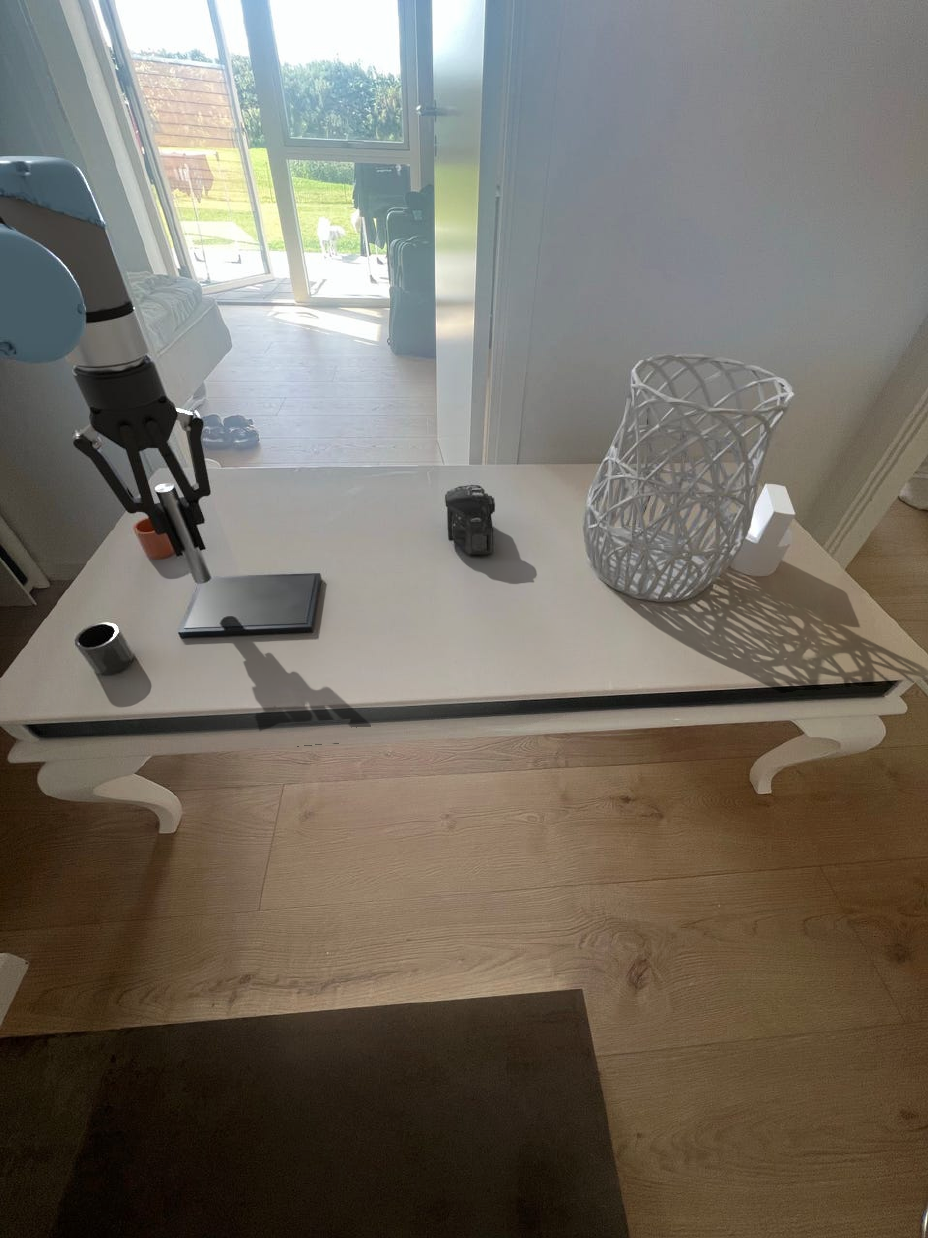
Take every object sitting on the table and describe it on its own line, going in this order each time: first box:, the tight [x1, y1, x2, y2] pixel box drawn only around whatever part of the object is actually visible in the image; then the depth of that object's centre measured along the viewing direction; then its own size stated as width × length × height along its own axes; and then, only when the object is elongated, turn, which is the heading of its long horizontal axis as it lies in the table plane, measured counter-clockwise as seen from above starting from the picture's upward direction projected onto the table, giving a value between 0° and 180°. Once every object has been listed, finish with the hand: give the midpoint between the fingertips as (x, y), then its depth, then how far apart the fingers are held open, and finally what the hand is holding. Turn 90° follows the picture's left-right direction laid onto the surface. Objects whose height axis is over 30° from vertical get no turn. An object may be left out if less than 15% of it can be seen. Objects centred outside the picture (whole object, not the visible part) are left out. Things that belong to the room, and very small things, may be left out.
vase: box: [582, 353, 795, 603], centre depth 78 cm, size 24×24×30 cm
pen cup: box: [132, 517, 175, 560], centre depth 85 cm, size 5×5×5 cm
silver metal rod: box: [154, 482, 212, 585], centre depth 68 cm, size 2×2×15 cm
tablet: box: [177, 572, 322, 639], centre depth 77 cm, size 18×12×1 cm, turn 95°
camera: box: [444, 484, 496, 556], centre depth 88 cm, size 13×10×10 cm
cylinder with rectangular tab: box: [728, 483, 796, 577], centre depth 85 cm, size 9×9×12 cm
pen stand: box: [74, 621, 135, 677], centre depth 67 cm, size 5×5×5 cm
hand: (189, 547), depth 69 cm, fingers closed on silver metal rod, 2 cm apart
